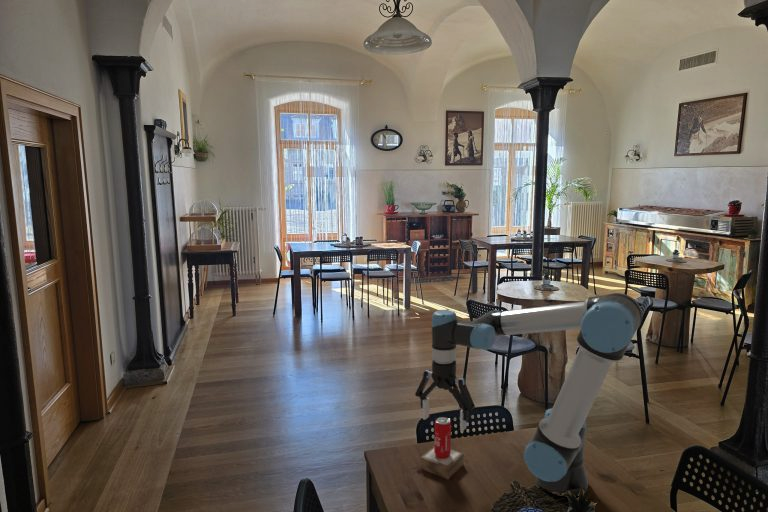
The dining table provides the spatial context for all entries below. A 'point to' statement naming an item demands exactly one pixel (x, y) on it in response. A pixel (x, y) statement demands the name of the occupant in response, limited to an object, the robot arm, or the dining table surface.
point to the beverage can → (442, 438)
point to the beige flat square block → (442, 463)
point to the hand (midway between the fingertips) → (444, 423)
